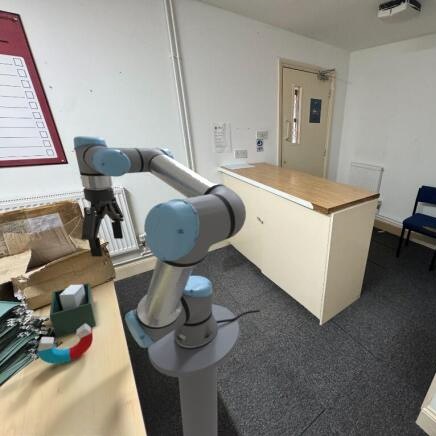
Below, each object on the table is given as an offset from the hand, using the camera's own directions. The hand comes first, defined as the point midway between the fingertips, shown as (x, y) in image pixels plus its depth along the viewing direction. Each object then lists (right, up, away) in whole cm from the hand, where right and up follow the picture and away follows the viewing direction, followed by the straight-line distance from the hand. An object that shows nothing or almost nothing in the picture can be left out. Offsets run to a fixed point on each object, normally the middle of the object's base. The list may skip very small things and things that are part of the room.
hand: (108, 246), depth 82 cm
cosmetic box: (-15, -27, +5) cm, 31 cm away
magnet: (-4, -34, -9) cm, 35 cm away
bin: (-15, -28, +4) cm, 32 cm away
